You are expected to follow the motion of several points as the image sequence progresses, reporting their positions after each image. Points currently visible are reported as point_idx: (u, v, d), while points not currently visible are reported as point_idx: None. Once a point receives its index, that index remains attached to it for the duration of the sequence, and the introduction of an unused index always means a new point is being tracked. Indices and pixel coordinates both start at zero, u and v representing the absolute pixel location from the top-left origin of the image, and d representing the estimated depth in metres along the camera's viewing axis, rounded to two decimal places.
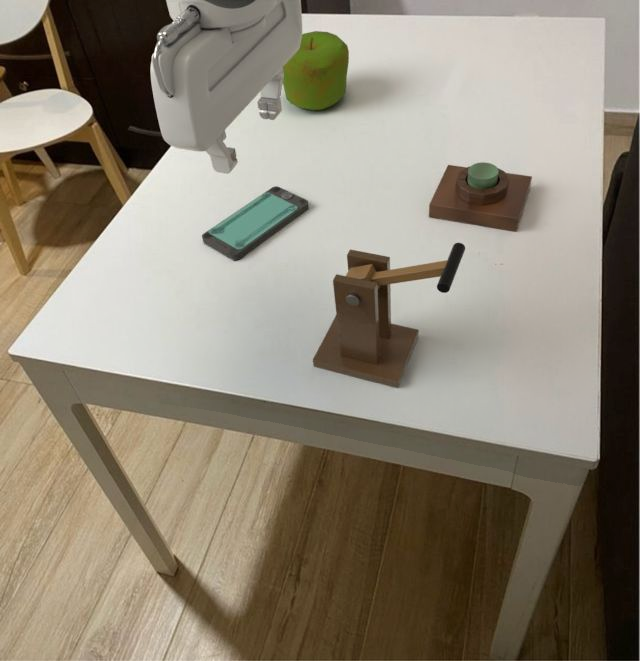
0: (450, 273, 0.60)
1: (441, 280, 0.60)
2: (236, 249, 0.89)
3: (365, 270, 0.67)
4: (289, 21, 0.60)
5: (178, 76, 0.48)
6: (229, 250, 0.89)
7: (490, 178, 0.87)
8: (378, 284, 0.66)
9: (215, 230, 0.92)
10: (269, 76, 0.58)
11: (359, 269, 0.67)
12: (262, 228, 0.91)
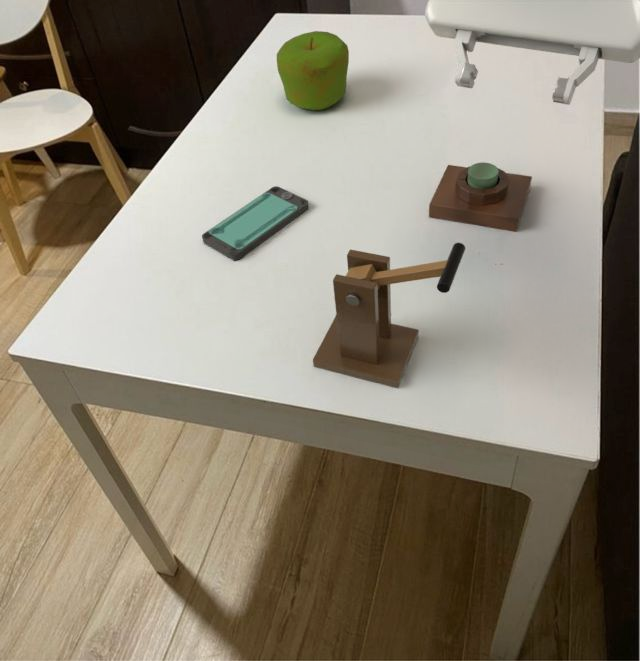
0: (450, 273, 0.60)
1: (441, 280, 0.60)
2: (236, 249, 0.89)
3: (365, 270, 0.67)
4: (626, 6, 0.55)
5: None
6: (229, 250, 0.89)
7: (490, 178, 0.87)
8: (378, 284, 0.66)
9: (215, 230, 0.92)
10: (552, 29, 0.58)
11: (359, 269, 0.67)
12: (262, 228, 0.91)
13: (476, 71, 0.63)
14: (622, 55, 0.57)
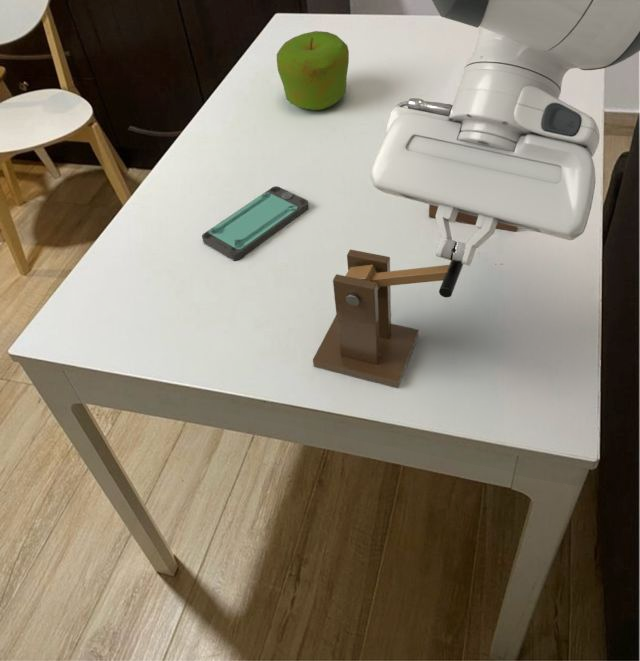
0: (452, 278, 0.61)
1: (444, 285, 0.60)
2: (236, 249, 0.89)
3: (366, 270, 0.66)
4: (562, 192, 0.56)
5: None
6: (229, 250, 0.89)
7: None
8: (378, 285, 0.66)
9: (215, 230, 0.92)
10: (491, 206, 0.58)
11: (359, 269, 0.67)
12: (262, 228, 0.91)
13: None
14: (559, 236, 0.57)
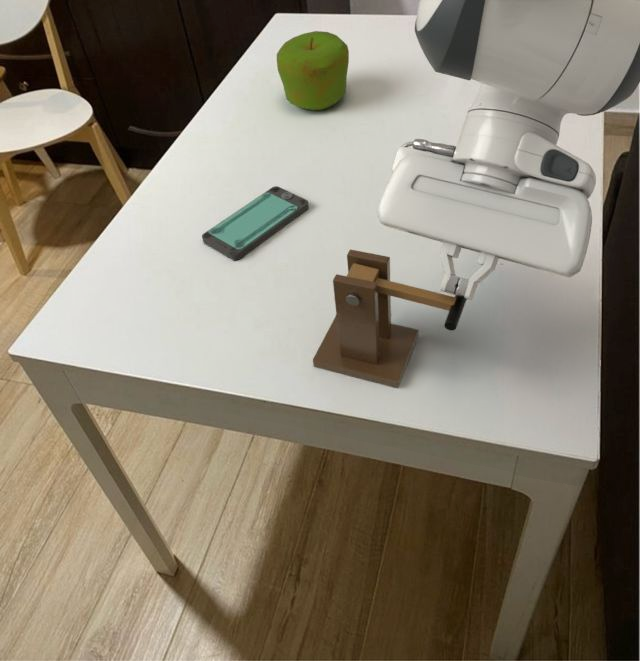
0: (459, 314, 0.64)
1: (451, 319, 0.63)
2: (236, 249, 0.89)
3: (371, 274, 0.67)
4: (560, 233, 0.58)
5: None
6: (229, 250, 0.89)
7: None
8: (379, 291, 0.67)
9: (215, 230, 0.92)
10: (493, 245, 0.61)
11: (364, 269, 0.67)
12: (262, 228, 0.91)
13: None
14: (558, 273, 0.60)
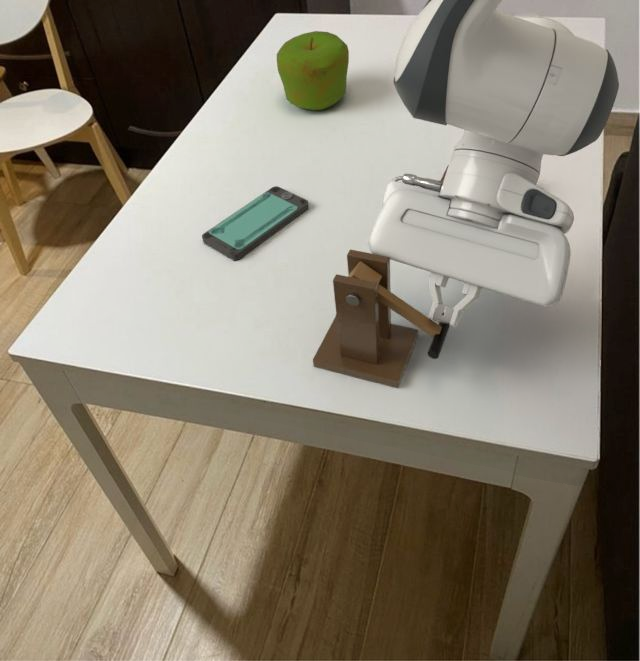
0: (442, 345, 0.68)
1: (437, 350, 0.67)
2: (236, 249, 0.89)
3: (375, 279, 0.67)
4: (540, 267, 0.62)
5: None
6: (229, 250, 0.89)
7: None
8: None
9: (215, 230, 0.92)
10: (476, 277, 0.64)
11: (369, 271, 0.67)
12: (262, 228, 0.91)
13: None
14: (538, 304, 0.64)
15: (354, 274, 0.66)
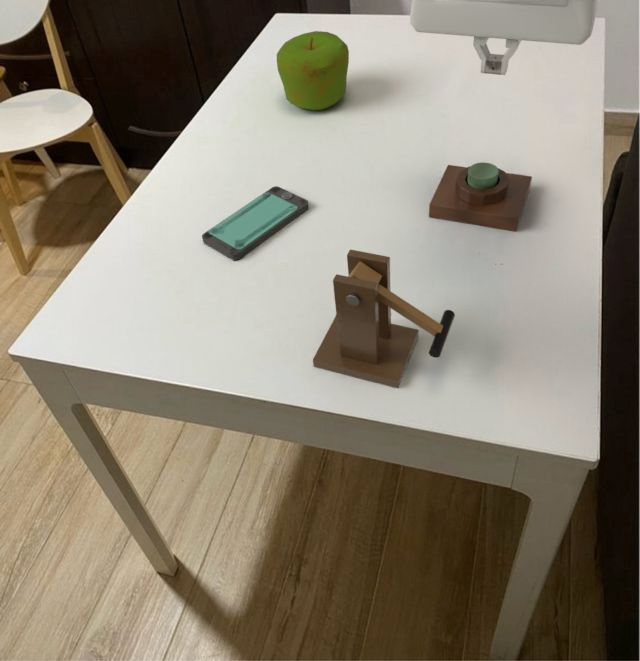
0: (443, 343, 0.67)
1: (438, 348, 0.66)
2: (236, 249, 0.89)
3: (375, 279, 0.67)
4: (570, 13, 0.69)
5: None
6: (229, 250, 0.89)
7: (490, 178, 0.87)
8: None
9: (215, 230, 0.92)
10: (516, 34, 0.73)
11: (369, 271, 0.67)
12: (262, 228, 0.91)
13: (495, 57, 0.78)
14: None
15: (354, 274, 0.66)
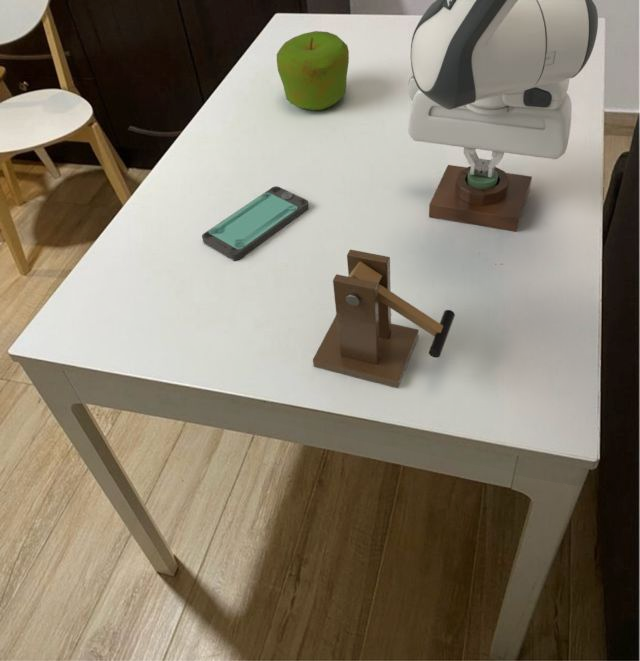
0: (443, 343, 0.67)
1: (438, 348, 0.66)
2: (236, 249, 0.89)
3: (375, 279, 0.67)
4: (547, 135, 0.80)
5: (415, 94, 0.84)
6: (229, 250, 0.89)
7: (490, 182, 0.88)
8: None
9: (215, 230, 0.92)
10: (500, 148, 0.83)
11: (369, 271, 0.67)
12: (262, 228, 0.91)
13: (483, 162, 0.88)
14: None
15: (354, 274, 0.66)
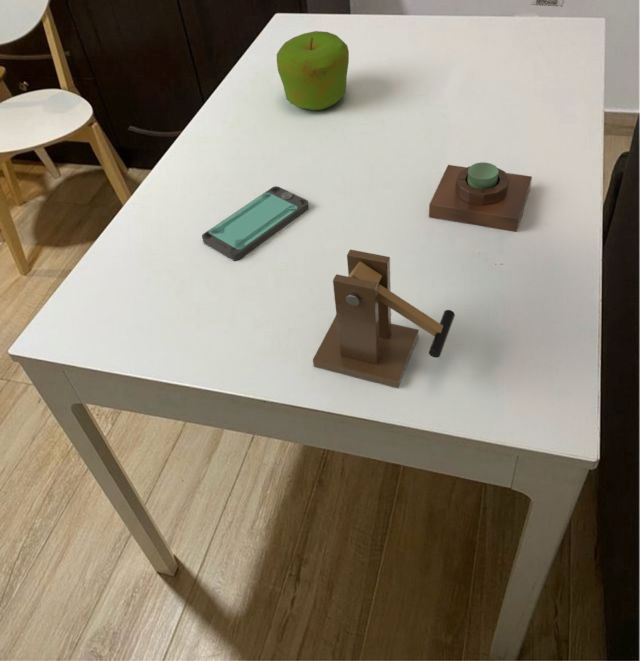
0: (443, 343, 0.67)
1: (438, 348, 0.66)
2: (236, 249, 0.89)
3: (375, 279, 0.67)
4: None
5: None
6: (229, 250, 0.89)
7: (490, 178, 0.87)
8: None
9: (215, 230, 0.92)
10: None
11: (369, 271, 0.67)
12: (262, 228, 0.91)
13: None
14: None
15: (354, 274, 0.66)
